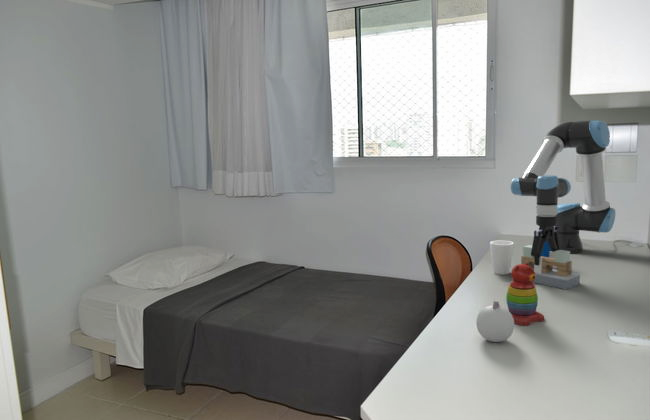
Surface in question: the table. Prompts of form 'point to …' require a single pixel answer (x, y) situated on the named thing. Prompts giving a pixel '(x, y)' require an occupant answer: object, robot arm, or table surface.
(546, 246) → the beverage can
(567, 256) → the block
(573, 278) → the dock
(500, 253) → the foam cup
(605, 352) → the table surface
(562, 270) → the tan wooden bar
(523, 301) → the stacking bear
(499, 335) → the ornament
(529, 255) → the block
